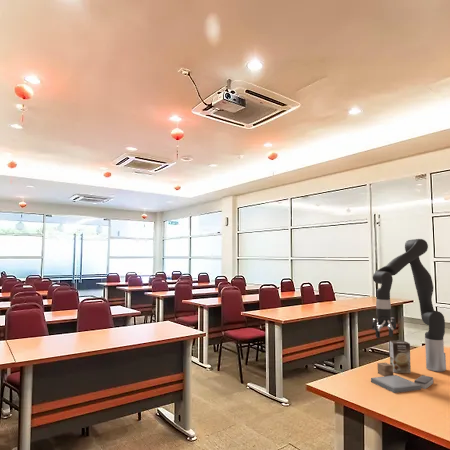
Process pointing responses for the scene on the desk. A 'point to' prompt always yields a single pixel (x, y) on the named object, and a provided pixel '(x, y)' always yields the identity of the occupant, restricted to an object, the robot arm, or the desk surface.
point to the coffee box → (400, 356)
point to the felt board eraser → (424, 381)
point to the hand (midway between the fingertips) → (384, 337)
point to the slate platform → (395, 383)
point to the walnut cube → (385, 369)
